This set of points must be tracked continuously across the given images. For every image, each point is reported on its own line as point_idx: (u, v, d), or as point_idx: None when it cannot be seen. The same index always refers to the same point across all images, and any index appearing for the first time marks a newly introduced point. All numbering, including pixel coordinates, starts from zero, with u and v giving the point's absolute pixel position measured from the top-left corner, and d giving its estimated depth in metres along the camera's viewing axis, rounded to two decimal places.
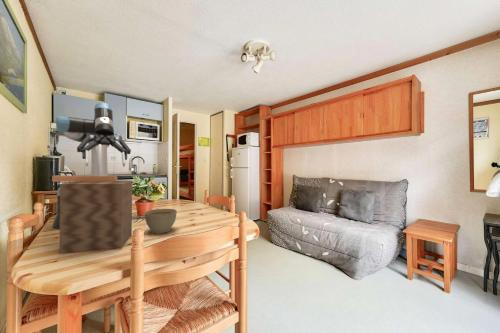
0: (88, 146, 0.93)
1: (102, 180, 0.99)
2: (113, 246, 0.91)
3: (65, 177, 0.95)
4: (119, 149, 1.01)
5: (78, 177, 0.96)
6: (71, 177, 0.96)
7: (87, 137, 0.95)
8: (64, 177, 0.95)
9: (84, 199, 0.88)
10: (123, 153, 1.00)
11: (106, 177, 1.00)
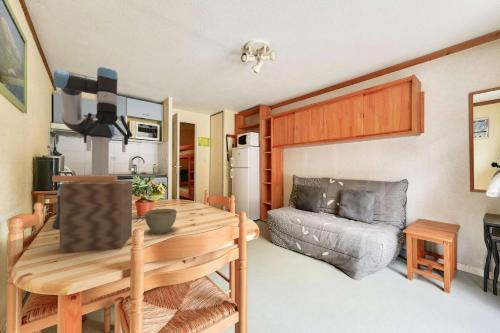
0: (89, 130, 0.93)
1: (102, 180, 0.99)
2: (113, 246, 0.91)
3: (65, 177, 0.95)
4: None
5: (78, 177, 0.96)
6: (71, 177, 0.96)
7: (88, 118, 0.92)
8: (64, 177, 0.95)
9: (84, 199, 0.88)
10: (122, 139, 0.96)
11: (106, 177, 1.00)
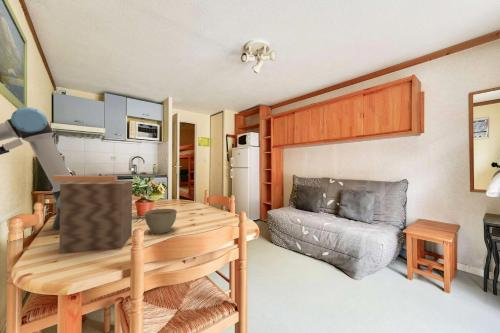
0: None
1: (102, 180, 0.99)
2: (113, 246, 0.91)
3: (65, 177, 0.95)
4: None
5: (78, 177, 0.96)
6: (71, 177, 0.96)
7: None
8: (64, 177, 0.95)
9: (84, 199, 0.88)
10: None
11: (106, 177, 1.00)
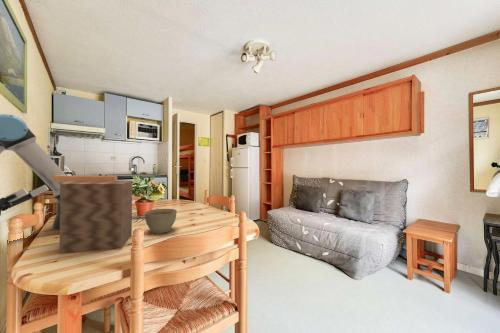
0: (27, 199, 0.98)
1: (102, 180, 0.99)
2: (113, 246, 0.91)
3: (65, 177, 0.95)
4: None
5: (78, 177, 0.96)
6: (71, 177, 0.96)
7: (15, 205, 0.97)
8: (64, 177, 0.95)
9: (84, 199, 0.88)
10: (13, 201, 0.86)
11: (106, 177, 1.00)
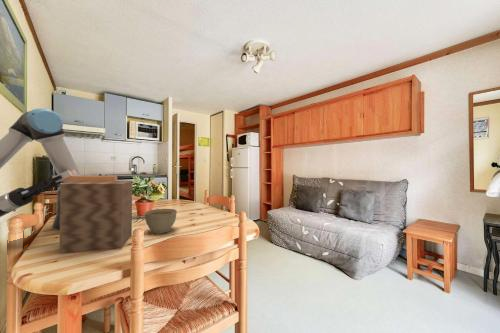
0: (56, 184, 0.98)
1: (102, 180, 0.99)
2: (113, 246, 0.91)
3: None
4: None
5: (78, 177, 0.96)
6: (71, 177, 0.96)
7: (47, 189, 0.99)
8: None
9: (84, 199, 0.88)
10: (58, 181, 0.94)
11: (106, 177, 1.00)
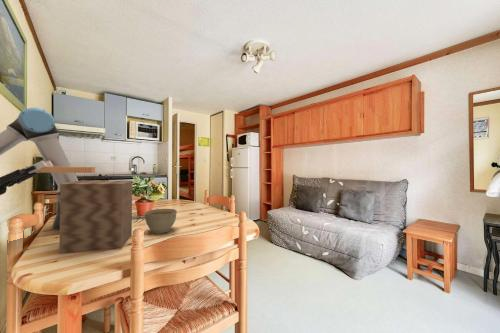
0: (31, 175, 0.95)
1: (78, 171, 0.96)
2: (113, 246, 0.91)
3: None
4: None
5: (53, 168, 0.93)
6: (45, 168, 0.93)
7: (22, 181, 0.96)
8: None
9: (84, 199, 0.88)
10: (32, 172, 0.91)
11: (83, 168, 0.97)
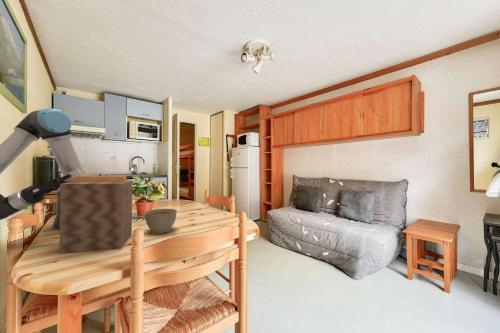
0: (67, 182, 1.00)
1: (112, 180, 1.00)
2: (113, 246, 0.91)
3: (76, 177, 0.96)
4: None
5: (88, 177, 0.98)
6: (82, 177, 0.97)
7: (57, 188, 1.01)
8: (74, 177, 0.96)
9: (84, 199, 0.88)
10: None
11: (116, 177, 1.01)
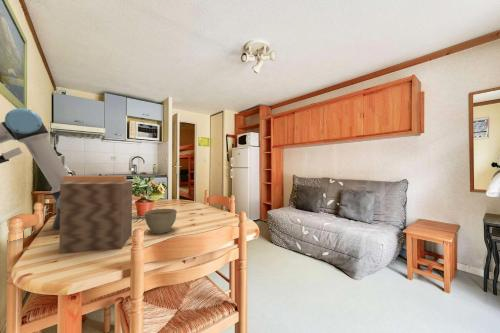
0: None
1: (112, 180, 1.00)
2: (113, 246, 0.91)
3: (76, 177, 0.96)
4: None
5: (88, 177, 0.98)
6: (82, 177, 0.97)
7: None
8: (74, 177, 0.96)
9: (84, 199, 0.88)
10: None
11: (116, 177, 1.01)
